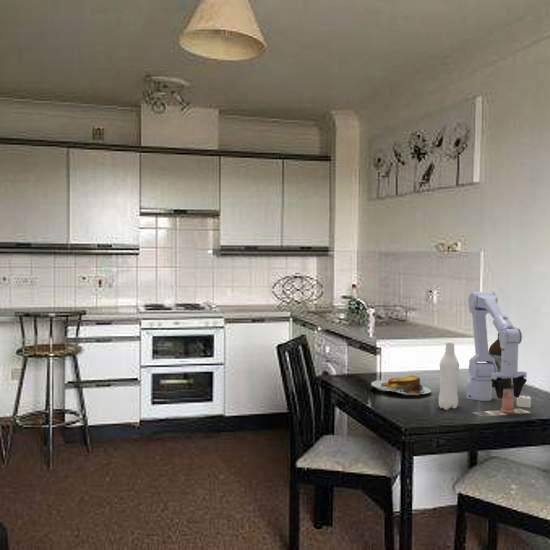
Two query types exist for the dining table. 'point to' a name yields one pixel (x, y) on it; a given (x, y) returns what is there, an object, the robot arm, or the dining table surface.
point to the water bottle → (449, 378)
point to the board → (499, 412)
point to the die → (524, 401)
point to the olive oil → (498, 360)
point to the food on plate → (402, 385)
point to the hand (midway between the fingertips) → (508, 397)
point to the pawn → (507, 402)
